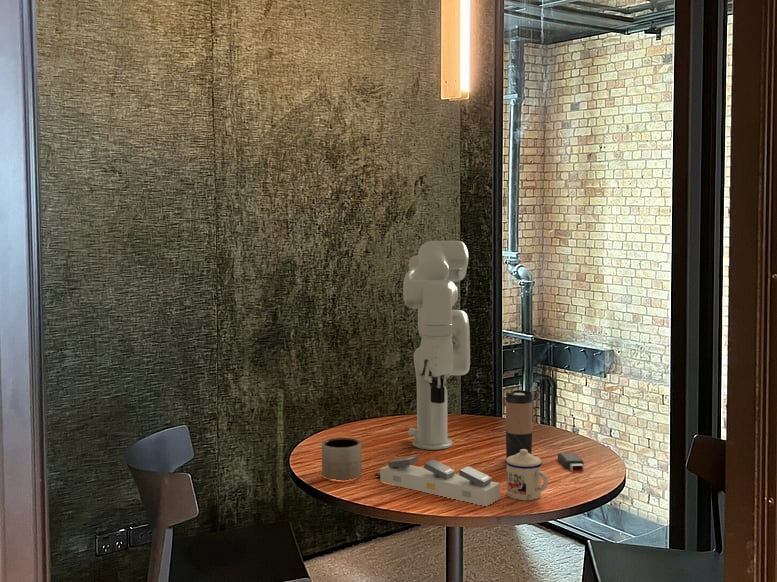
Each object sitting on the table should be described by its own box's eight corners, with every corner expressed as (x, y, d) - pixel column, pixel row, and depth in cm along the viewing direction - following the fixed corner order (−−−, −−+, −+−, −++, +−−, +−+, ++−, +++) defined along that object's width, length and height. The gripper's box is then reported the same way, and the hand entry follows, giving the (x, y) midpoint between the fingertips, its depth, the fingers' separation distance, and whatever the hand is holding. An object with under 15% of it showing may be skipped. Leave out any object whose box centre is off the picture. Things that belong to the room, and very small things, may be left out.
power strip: (368, 480, 207) (367, 462, 207) (383, 473, 213) (383, 456, 212) (486, 507, 186) (486, 487, 185) (500, 498, 191) (500, 479, 191)
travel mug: (532, 464, 220) (532, 395, 218) (505, 463, 221) (505, 394, 220) (532, 457, 227) (532, 390, 226) (506, 456, 229) (506, 389, 227)
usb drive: (575, 459, 225) (575, 450, 225) (587, 472, 213) (587, 462, 213) (557, 460, 225) (557, 451, 225) (568, 472, 213) (568, 463, 213)
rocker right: (458, 475, 192) (460, 469, 191) (466, 471, 195) (468, 465, 195) (482, 487, 188) (484, 481, 188) (490, 482, 191) (491, 477, 191)
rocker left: (389, 467, 204) (387, 462, 205) (397, 463, 208) (396, 458, 208) (409, 465, 200) (408, 459, 201) (418, 461, 204) (417, 455, 204)
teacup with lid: (498, 494, 195) (498, 449, 194) (522, 486, 200) (522, 443, 200) (534, 507, 185) (534, 459, 185) (558, 498, 191) (559, 452, 190)
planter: (331, 485, 203) (331, 450, 203) (316, 474, 213) (315, 440, 212) (368, 479, 208) (368, 444, 208) (351, 468, 218) (351, 435, 217)
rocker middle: (423, 467, 198) (424, 462, 198) (432, 464, 201) (433, 459, 201) (446, 479, 194) (447, 474, 194) (454, 475, 197) (455, 470, 197)
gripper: (440, 327, 203) (440, 395, 205) (408, 333, 191) (409, 406, 193) (465, 329, 199) (465, 399, 200) (433, 335, 187) (434, 409, 188)
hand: (437, 402), depth 196 cm, fingers closed
